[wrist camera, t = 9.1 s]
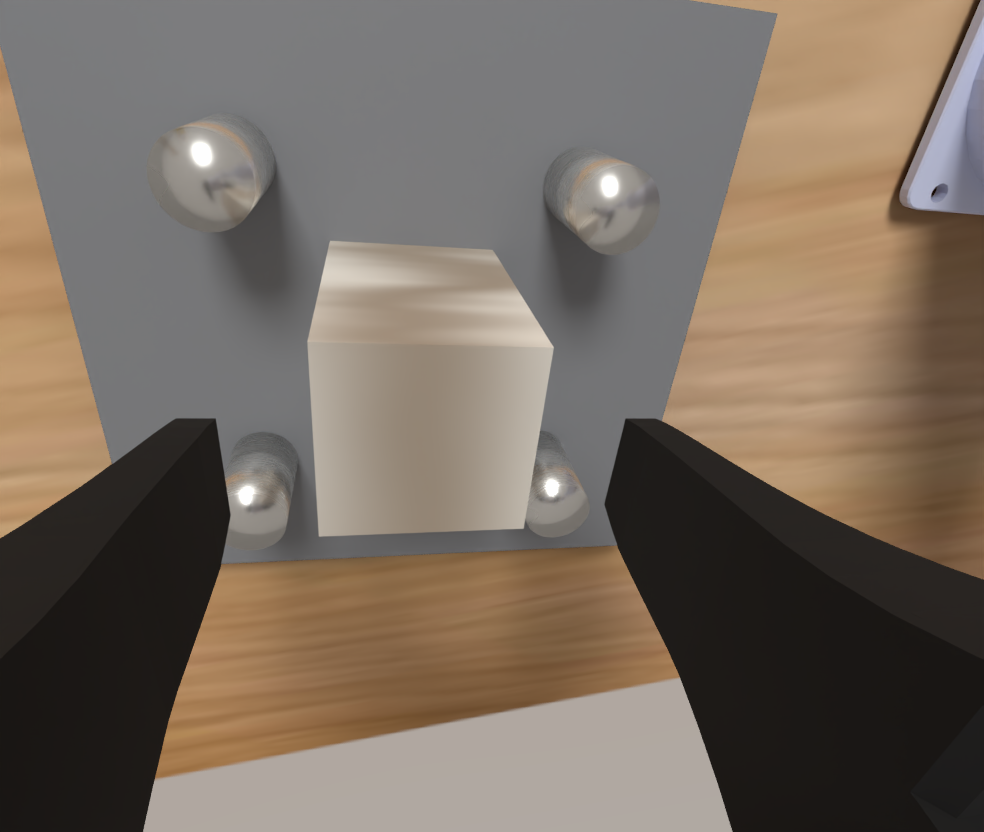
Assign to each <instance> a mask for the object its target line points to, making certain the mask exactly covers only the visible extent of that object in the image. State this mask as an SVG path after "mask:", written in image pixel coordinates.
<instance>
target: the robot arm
mask: <svg viewBox="0 0 984 832" xmlns="http://www.w3.org/2000/svg"><path fill="white" fill-rule="evenodd" d="M935 187H937V190H936V192H935V194H934V195H933V196H932V197H931V194H932V191H933V190H934V188H935ZM899 197H900V202H901V204H902V205H903V206H905V207H908V208H912V209H915V210H926V211H939V212H951V213H963V214H976V215H984V0H981V1H980V3H979V5H978V8H977V10H976V13H975V15H974V17H973V20H972V22H971V24H970V27H969V29H968V31H967V34H966V36H965V39H964V41H963V43H962V46H961V48H960V50H959V53H958V55H957V57H956V60H955V62H954V64H953V67H952V69H951V72H950V74H949V76H948V79H947V81H946V83H945V86H944V88H943V90H942V93H941V95H940V98H939V100H938V102H937V105H936V107H935V109H934V112H933V114H932V116H931V119H930V121H929V124H928V126H927V128H926V131H925V133H924V135H923V138H922V140H921V142H920V145H919V147H918V150H917V152H916V154H915V157H914V159H913V161H912V164H911V166H910V168H909V171H908V173H907V176H906V178H905V180H904V183H903V185H902V187H901V191H900V194H899ZM604 505H605V508H606V512H607V515H608V518H609V522H610V525H611V528H612V531H613V534H614V537H615V540H616V543H617V546H618V549H619V551H620V553H621V555H622V558H623V560H624V562H625V564H626V566H627V568H628V570H629V572H630V574H631V576H632V578H633V580H634V582H635V584H636V587H637V589H638V591H639V593H640V595H641V597H642V599H643V601H644V603H645V605H646V607H647V609H648V611H649V613H650V615H651V617H652V619H653V621H654V623H655V625H656V627H657V629H658V631H659V633H660V635H661V637H662V639H663V641H664V643H665V645H666V647H667V649H668V651H669V653H670V655H671V658H672V660H673V662H674V664H675V667H676V669H677V671H678V673H679V676H680V678H681V681H682V683H683V686H684V689H685V692H686V694H687V697H688V700H689V703H690V705H691V708H692V710H693V713H694V716H695V719H696V721H697V724H698V727H699V730H700V733H701V735H702V739H703V742H704V744H705V747H706V750H707V753H708V756H709V759H710V762H711V765H712V768H713V771H714V774H715V777H716V780H717V783H718V786H719V789H720V792H721V795H722V798H723V802H724V805H725V808H726V812H727V815H728V818H729V821H730V824H731V828H732V831H733V832H984V580H983V579H980V578H977V577H974V576H971V575H968V574H966V573H963V572H960V571H957V570H954V569H951V568H949V567H946V566H943V565H941V564H938V563H936V562H933V561H931V560H928V559H925V558H923V557H920V556H918V555H915V554H913V553H910V552H908V551H905V550H902V549H900V548H897V547H895V546H893V545H890V544H888V543H886V542H883V541H881V540H879V539H876V538H874V537H872V536H869V535H867V534H865V533H863V532H861V531H859V530H857V529H854V528H852V527H850V526H848V525H846V524H844V523H842V522H839V521H837V520H835V519H833V518H831V517H829V516H827V515H825V514H823V513H821V512H819V511H817V510H815V509H813V508H811V507H809V506H807V505H805V504H803V503H802V502H800V501H798V500H796V499H794V498H792V497H791V496H789V495H787V494H785V493H783V492H781V491H780V490H778V489H776V488H774V487H772V486H771V485H769V484H767V483H766V482H764V481H762V480H760V479H759V478H757V477H755V476H754V475H752V474H750V473H748V472H747V471H745V470H743V469H742V468H740V467H738V466H737V465H735V464H734V463H732V462H730V461H729V460H727V459H725V458H724V457H722V456H720V455H719V454H717V453H716V452H714V451H712V450H711V449H709V448H707V447H706V446H704V445H702V444H701V443H699V442H698V441H696V440H694V439H693V438H691V437H689V436H688V435H686V434H684V433H683V432H681V431H679V430H677V429H676V428H674V427H672V426H670V425H668V424H666V423H664V422H662V421H660V420H658V419H656V418H626V419H625V423H624V427H623V431H622V435H621V439H620V443H619V447H618V451H617V455H616V459H615V463H614V467H613V471H612V475H611V479H610V483H609V487H608V491H607V495H606V499H605V503H604ZM230 517H231V513H230V507H229V500H228V494H227V488H226V481H225V475H224V468H223V462H222V455H221V449H220V442H219V436H218V429H217V423H216V418H176V419H174V420H173V421H171V422H169V423H168V424H166V425H165V426H164V427H162V428H161V429H159V430H158V431H157V432H155V433H154V434H152V435H151V436H150V437H148V438H147V439H146V440H144V441H143V442H142V443H140V444H139V445H138V446H136V447H135V448H134V449H132V450H131V451H129V452H128V453H127V454H125V455H124V456H123V457H121V458H120V459H119V460H117V461H116V462H114V463H113V464H112V465H110V466H109V467H107V468H106V469H105V470H103V471H102V472H101V473H99V474H98V475H96V476H95V477H94V478H92V479H91V480H90V481H88V482H87V483H85V484H84V485H82V486H81V487H79V488H78V489H76V490H75V491H73V492H72V493H70V494H69V495H67V496H66V497H64V498H63V499H61V500H60V501H58V502H57V503H55V504H54V505H52V506H51V507H49V508H48V509H46V510H44V511H43V512H41V513H40V514H38V515H37V516H35V517H34V518H32V519H31V520H29V521H28V522H26V523H25V524H23V525H22V526H20V527H18V528H17V529H15V530H13V531H12V532H10V533H9V534H7V535H5V536H4V537H2V538H0V832H143V829H144V824H145V820H146V814H147V811H148V806H149V801H150V797H151V792H152V788H153V784H154V779H155V775H156V771H157V767H158V763H159V758H160V754H161V750H162V746H163V742H164V737H165V733H166V729H167V725H168V721H169V717H170V714H171V711H172V708H173V704H174V701H175V698H176V694H177V691H178V688H179V685H180V683H181V680H182V677H183V674H184V671H185V668H186V665H187V663H188V660H189V657H190V654H191V651H192V648H193V646H194V643H195V640H196V637H197V634H198V631H199V629H200V626H201V623H202V620H203V617H204V614H205V611H206V609H207V606H208V603H209V600H210V597H211V594H212V591H213V588H214V585H215V582H216V579H217V576H218V573H219V570H220V567H221V562H222V558H223V553H224V548H225V543H226V538H227V533H228V527H229V522H230Z"/></svg>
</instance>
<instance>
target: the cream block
mask: <svg viewBox="0 0 984 832" xmlns="http://www.w3.org/2000/svg"><path fill="white" fill-rule="evenodd" d="M307 344H308V361H309V378H310V395H311V412H312V429H313V446H314V463H315V480H316V497H317V514H318V531H319V537H321V536H347V535H373V534H398V533H424V532H449V531H475V530H501V529H524V523H525V517H526V511H527V505H528V499H529V493H530V487H531V481H532V475H533V469H534V463H535V457H536V452H537V446H538V440H539V434H540V428H541V422H542V416H543V410H544V404H545V398H546V392H547V386H548V380H549V374H550V368H551V362H552V356H553V350H554V347H553V345H552V344H551V342H550V341H549V339H548V337H547V336H546V334H545V333H544V331H543V329H542V328H541V326H540V325H539V323H538V321H537V320H536V318H535V317H534V315H533V313H532V312H531V310H530V309H529V307H528V305H527V304H526V302H525V301H524V299H523V297H522V296H521V294H520V293H519V291H518V289H517V288H516V286H515V285H514V283H513V281H512V280H511V278H510V277H509V275H508V273H507V272H506V270H505V269H504V267H503V265H502V264H501V262H500V260H499V259H498V257H497V256H496V254H495V252H494V251H493V250H487V249H469V248H451V247H433V246H416V245H398V244H380V243H362V242H344V241H330V243H329V247H328V252H327V256H326V261H325V265H324V270H323V274H322V279H321V283H320V288H319V292H318V297H317V301H316V305H315V310H314V314H313V319H312V323H311V328H310V332H309V337H308V341H307Z"/></svg>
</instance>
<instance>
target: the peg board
mask: <svg viewBox="0 0 984 832" xmlns="http://www.w3.org/2000/svg"><path fill="white" fill-rule="evenodd" d="M776 17H777V14H776V13H770V12H763V11H756V10H750V9H743V8H737V7H730V6H723V5H717V4H710V3H703V2H697V1H690V0H0V47H1V50H2V54H3V58H4V62H5V65H6V69H7V73H8V77H9V80H10V84H11V88H12V92H13V95H14V99H15V103H16V106H17V110H18V114H19V118H20V121H21V125H22V129H23V133H24V136H25V140H26V144H27V148H28V151H29V155H30V159H31V163H32V166H33V170H34V174H35V177H36V181H37V185H38V189H39V192H40V196H41V200H42V204H43V207H44V211H45V215H46V219H47V222H48V226H49V230H50V233H51V237H52V241H53V245H54V248H55V252H56V256H57V260H58V263H59V267H60V271H61V275H62V278H63V282H64V286H65V290H66V293H67V297H68V301H69V304H70V308H71V312H72V316H73V319H74V323H75V327H76V331H77V334H78V338H79V342H80V346H81V349H82V353H83V357H84V360H85V364H86V368H87V372H88V375H89V379H90V383H91V387H92V390H93V394H94V398H95V402H96V405H97V409H98V413H99V416H100V420H101V424H102V428H103V431H104V435H105V439H106V443H107V446H108V450H109V454H110V458H111V461H112V464H113V463H114V462H116V461H117V460H119V459H120V458H121V457H123V456H124V455H125V454H127V453H128V452H129V451H131V450H132V449H134V448H135V447H136V446H138V445H139V444H140V443H142V442H143V441H144V440H146V439H147V438H148V437H150V436H151V435H152V434H154V433H155V432H157V431H158V430H159V429H161V428H162V427H164V426H165V425H166V424H168V423H169V422H171V421H173V420H174V419H176V418H216V423H217V429H218V436H219V442H220V449H221V455H222V462H223V468H224V475H225V481H226V488H227V494H228V500H229V507H230V513H231V517H230V522H229V527H228V533H227V538H226V543H225V548H224V553H223V558H222V562H221V564H229V563H250V562H272V561H293V560H315V559H336V558H357V557H379V556H400V555H422V554H443V553H464V552H486V551H507V550H529V549H550V548H571V547H593V546H614V545H617V543H616V540H615V537H614V534H613V531H612V528H611V525H610V522H609V518H608V515H607V512H606V508H605V505H604V503H605V499H606V495H607V491H608V487H609V483H610V479H611V475H612V471H613V467H614V463H615V459H616V455H617V451H618V447H619V443H620V439H621V435H622V431H623V427H624V423H625V419H626V418H656V419H658V420H660V421H662V418H663V415H664V411H665V408H666V404H667V401H668V397H669V394H670V390H671V386H672V383H673V379H674V376H675V372H676V369H677V365H678V362H679V358H680V355H681V351H682V348H683V344H684V341H685V337H686V334H687V330H688V327H689V323H690V320H691V316H692V313H693V309H694V306H695V302H696V299H697V295H698V292H699V288H700V285H701V281H702V278H703V274H704V270H705V267H706V263H707V260H708V256H709V253H710V249H711V246H712V242H713V239H714V235H715V232H716V228H717V225H718V221H719V218H720V214H721V211H722V207H723V204H724V200H725V197H726V193H727V190H728V186H729V183H730V179H731V176H732V172H733V169H734V165H735V162H736V158H737V154H738V151H739V147H740V144H741V140H742V137H743V133H744V130H745V126H746V123H747V119H748V116H749V112H750V109H751V105H752V102H753V98H754V95H755V91H756V88H757V84H758V81H759V77H760V74H761V70H762V67H763V63H764V60H765V56H766V53H767V49H768V46H769V42H770V38H771V35H772V31H773V28H774V24H775V21H776ZM330 241H344V242H362V243H380V244H398V245H416V246H433V247H451V248H469V249H487V250H493V251H494V252H495V254H496V256H497V257H498V259H499V260H500V262H501V264H502V265H503V267H504V269H505V270H506V272H507V273H508V275H509V277H510V278H511V280H512V281H513V283H514V285H515V286H516V288H517V289H518V291H519V293H520V294H521V296H522V297H523V299H524V301H525V302H526V304H527V305H528V307H529V309H530V310H531V312H532V313H533V315H534V317H535V318H536V320H537V321H538V323H539V325H540V326H541V328H542V329H543V331H544V333H545V334H546V336H547V337H548V339H549V341H550V342H551V344H552V345H553V347H554V350H553V356H552V362H551V368H550V374H549V380H548V386H547V392H546V398H545V404H544V410H543V416H542V422H541V428H540V434H539V440H538V446H537V452H536V457H535V463H534V469H533V475H532V481H531V487H530V493H529V499H528V505H527V511H526V517H525V523H524V529H501V530H475V531H449V532H424V533H398V534H373V535H347V536H321V537H319V531H318V514H317V497H316V480H315V463H314V446H313V429H312V412H311V395H310V378H309V361H308V344H307V341H308V337H309V332H310V328H311V323H312V319H313V314H314V310H315V305H316V301H317V297H318V292H319V288H320V283H321V279H322V274H323V270H324V265H325V261H326V256H327V252H328V247H329V243H330Z"/></svg>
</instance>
